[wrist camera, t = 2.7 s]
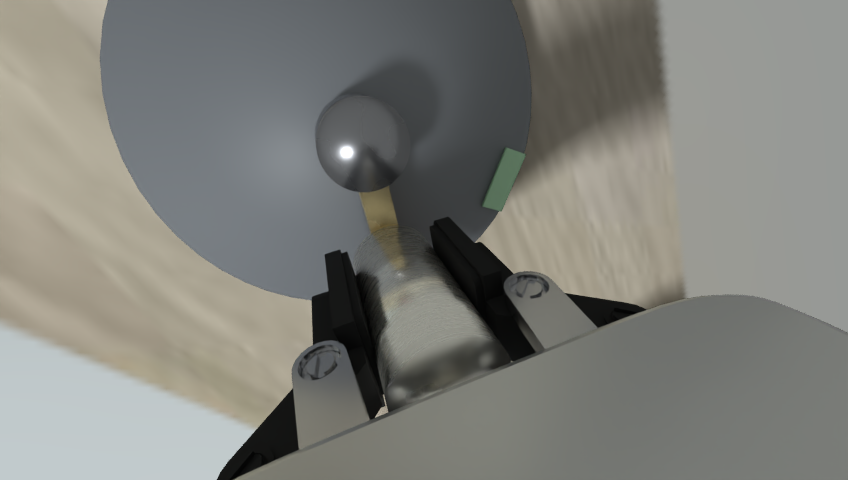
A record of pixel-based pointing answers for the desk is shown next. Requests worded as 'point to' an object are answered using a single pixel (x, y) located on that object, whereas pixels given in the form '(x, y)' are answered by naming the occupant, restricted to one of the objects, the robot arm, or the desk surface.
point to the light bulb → (401, 262)
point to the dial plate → (310, 120)
